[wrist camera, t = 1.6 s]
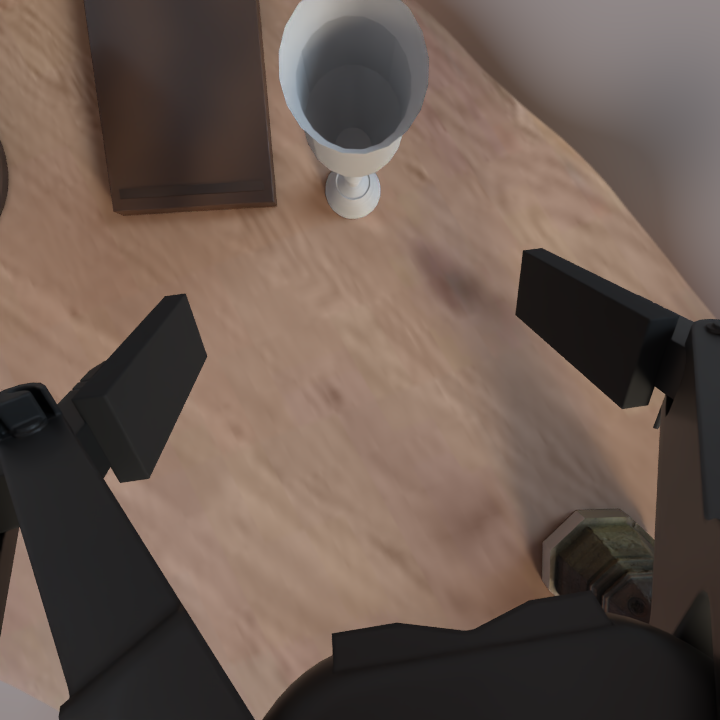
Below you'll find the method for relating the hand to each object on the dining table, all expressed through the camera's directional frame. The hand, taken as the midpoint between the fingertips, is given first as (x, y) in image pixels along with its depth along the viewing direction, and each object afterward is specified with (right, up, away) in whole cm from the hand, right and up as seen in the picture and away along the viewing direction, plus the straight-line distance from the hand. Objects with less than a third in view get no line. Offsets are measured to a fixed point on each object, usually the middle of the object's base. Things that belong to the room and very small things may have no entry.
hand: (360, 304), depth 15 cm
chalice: (-1, +13, +20) cm, 24 cm away
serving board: (-15, +21, +19) cm, 32 cm away
